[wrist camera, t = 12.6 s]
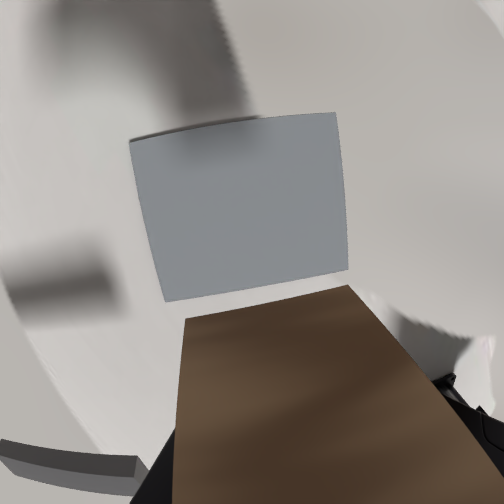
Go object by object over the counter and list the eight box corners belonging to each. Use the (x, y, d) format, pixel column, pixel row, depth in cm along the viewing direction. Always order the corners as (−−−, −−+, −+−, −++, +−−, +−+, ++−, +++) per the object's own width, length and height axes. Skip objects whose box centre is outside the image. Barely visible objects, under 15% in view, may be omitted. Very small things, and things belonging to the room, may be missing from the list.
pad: (334, 112, 16) (335, 112, 16) (347, 268, 20) (348, 269, 20) (129, 143, 16) (128, 143, 16) (165, 300, 19) (165, 302, 19)
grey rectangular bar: (137, 455, 13) (134, 477, 11) (154, 477, 14) (152, 497, 12) (1, 438, 12) (-6, 453, 11) (20, 460, 13) (15, 474, 12)
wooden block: (347, 284, 8) (515, 496, 2) (346, 393, 10) (426, 558, 3) (185, 318, 8) (174, 606, 1) (221, 421, 10) (244, 609, 3)
